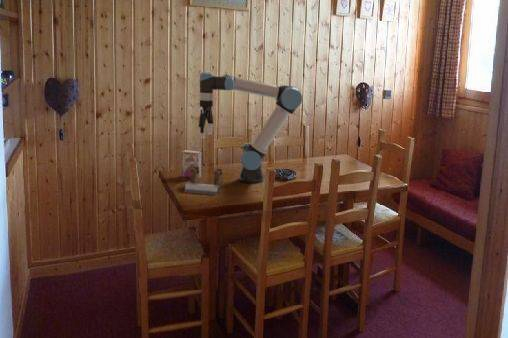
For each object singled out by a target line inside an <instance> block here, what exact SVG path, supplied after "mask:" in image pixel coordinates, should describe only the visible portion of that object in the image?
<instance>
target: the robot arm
mask: <svg viewBox="0 0 508 338" xmlns="http://www.w3.org/2000/svg"><path fill="white" fill-rule="evenodd" d="M214 91H236V92H237V91H238V92H240V93H241V92H243V93H246V94H247V93H248V94H253V95H257V96H261V97H266V98H270V99H274V100H275V101H276V102H275V108H274V110H273V111H272V113H271V115H270V116H269V118H268V119H267V120H266V122H265V124H264V126H263V127H262V129H261V130H260V131H259V133H258V135H257V137H256V138H255V139H254V141H250V142H245V143H243V144H242V154H241V158H240V162H241V165H242V168H241V170H240V173H239V177H238V178H239V181H241V182H244V183H252V184H253V183H262V182H263V181H264V180H265V178H264V177H265V176H264V173H263V170H262V163H263V162H262V161H264V158H265V157H266V156H267V154H268V153H267V149H268V148H269V146H270V144H271V143H272V142H273V141H274V139H275V137H276V135H277V134H278V132H279V131H280V129H281V128H282V127H283V126H284V123H285V121H287V119H288V117H289V116H293V114H294V113H295V111H296V110H297V109H298V108H299V107H300V106H301V104H302V102H303V94H302V92H301V91H300V89H299V88H297V87H296V86H293V85H282V84H277V85H274V84H270V83H266V82H260V81H255V80H251V79H246V78H242V77H241V78H240V77H235V76H231V75H229V74H224V75H222V76H214V73H213V72H208V71H207V72H200V74H199V94H198V95H199V107H200V108H202V109H200V115H199V120H198V128H199V139H203V140H204V139H206V135H209V136H211V135H212V134H213V124H214V116H213V111H212V110H213V109H212V108H213V106H214V101H213V99H214ZM206 123H207V124H206ZM261 181H262V182H261Z"/></svg>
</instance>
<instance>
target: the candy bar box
mask: <svg viewBox="0 0 508 338" xmlns="http://www.w3.org/2000/svg"><path fill="white" fill-rule="evenodd" d="M194 166H197V167H199V179H201V178H202V152H201V151H197V150H196V151H194V150H188V149H185V150H182V151H181V177H183V178H189V179H191V169H194Z"/></svg>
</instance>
